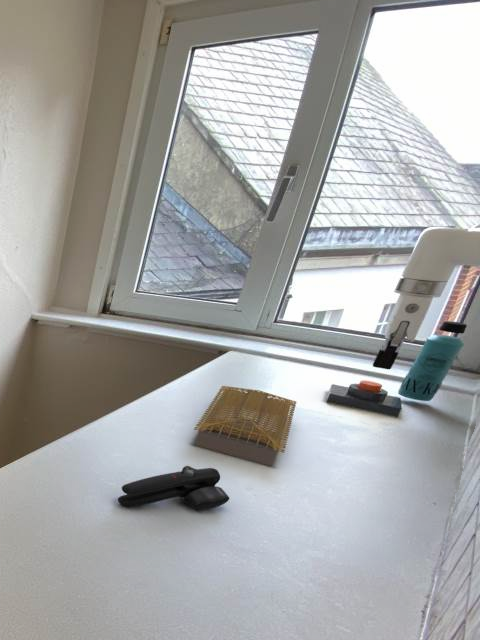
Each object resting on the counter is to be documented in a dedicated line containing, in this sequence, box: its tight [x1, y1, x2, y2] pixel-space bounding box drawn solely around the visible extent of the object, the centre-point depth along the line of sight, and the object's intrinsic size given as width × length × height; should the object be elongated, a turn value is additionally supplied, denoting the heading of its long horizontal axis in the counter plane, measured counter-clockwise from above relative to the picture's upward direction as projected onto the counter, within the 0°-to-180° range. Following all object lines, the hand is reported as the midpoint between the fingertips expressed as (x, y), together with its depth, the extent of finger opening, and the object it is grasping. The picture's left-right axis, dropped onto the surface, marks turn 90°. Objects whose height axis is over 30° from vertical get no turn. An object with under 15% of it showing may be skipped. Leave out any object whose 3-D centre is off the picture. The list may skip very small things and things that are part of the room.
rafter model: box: [193, 385, 297, 467], centre depth 114 cm, size 35×14×6 cm, turn 140°
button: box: [358, 380, 383, 392], centre depth 131 cm, size 4×4×2 cm
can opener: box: [117, 465, 230, 511], centre depth 86 cm, size 18×7×6 cm, turn 100°
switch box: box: [325, 383, 403, 418], centre depth 132 cm, size 13×10×4 cm
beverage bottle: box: [397, 320, 468, 402], centre depth 131 cm, size 6×7×20 cm
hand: (381, 367), depth 129 cm, fingers closed
